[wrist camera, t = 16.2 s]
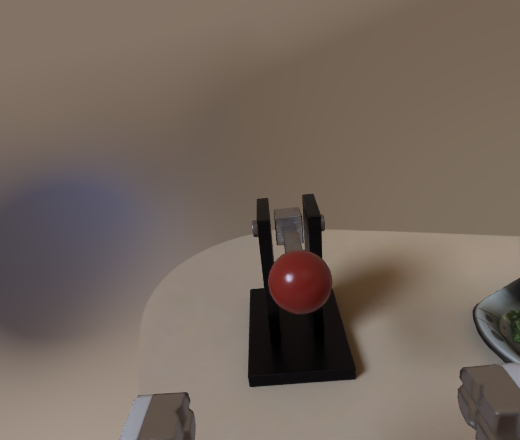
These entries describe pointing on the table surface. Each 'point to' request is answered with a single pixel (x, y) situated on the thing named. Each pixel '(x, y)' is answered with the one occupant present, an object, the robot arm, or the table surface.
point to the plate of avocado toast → (501, 322)
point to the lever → (297, 268)
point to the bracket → (294, 320)
